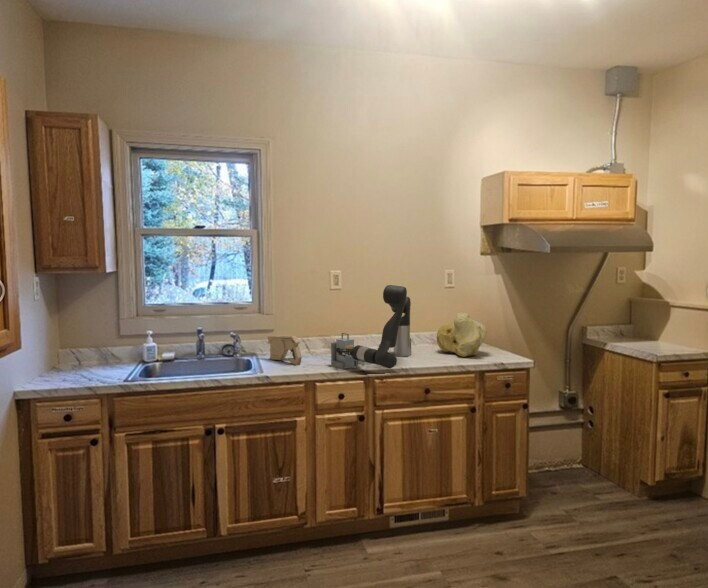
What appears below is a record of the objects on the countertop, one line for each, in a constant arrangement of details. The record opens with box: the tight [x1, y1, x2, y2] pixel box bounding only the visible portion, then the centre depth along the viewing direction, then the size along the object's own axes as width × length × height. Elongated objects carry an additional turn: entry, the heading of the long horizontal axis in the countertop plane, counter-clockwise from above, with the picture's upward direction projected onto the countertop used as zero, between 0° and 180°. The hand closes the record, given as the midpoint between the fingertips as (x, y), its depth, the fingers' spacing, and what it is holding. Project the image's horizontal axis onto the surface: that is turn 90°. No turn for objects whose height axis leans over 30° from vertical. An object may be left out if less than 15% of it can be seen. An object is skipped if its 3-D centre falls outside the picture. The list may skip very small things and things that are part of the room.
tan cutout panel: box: [267, 335, 303, 366], centre depth 269 cm, size 24×3×15 cm, turn 47°
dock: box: [330, 341, 359, 370], centre depth 258 cm, size 10×10×12 cm
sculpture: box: [436, 311, 487, 358], centre depth 286 cm, size 25×26×30 cm
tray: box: [358, 361, 372, 366], centre depth 269 cm, size 12×13×3 cm
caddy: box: [335, 332, 355, 369], centre depth 257 cm, size 6×7×17 cm
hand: (342, 349), depth 259 cm, fingers closed on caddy, 6 cm apart
